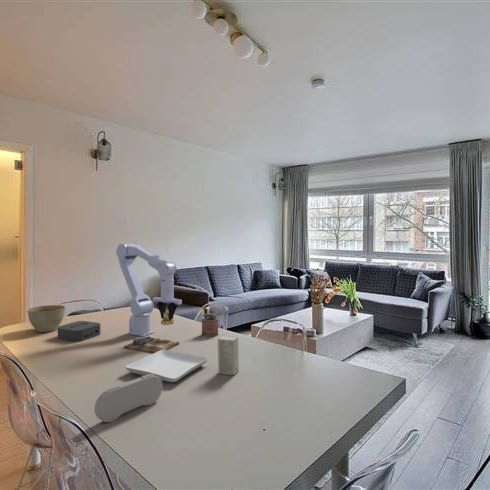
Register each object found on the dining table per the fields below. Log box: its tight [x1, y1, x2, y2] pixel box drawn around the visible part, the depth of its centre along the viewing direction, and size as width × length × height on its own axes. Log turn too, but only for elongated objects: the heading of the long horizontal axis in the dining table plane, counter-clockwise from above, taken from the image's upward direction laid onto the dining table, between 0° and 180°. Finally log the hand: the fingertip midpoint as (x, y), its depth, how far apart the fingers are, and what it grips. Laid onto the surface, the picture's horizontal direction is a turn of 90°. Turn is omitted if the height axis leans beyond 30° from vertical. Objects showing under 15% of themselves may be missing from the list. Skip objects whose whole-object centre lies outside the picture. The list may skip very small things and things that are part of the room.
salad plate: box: [124, 349, 209, 383], centre depth 125 cm, size 21×21×3 cm
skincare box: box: [217, 335, 240, 376], centre depth 123 cm, size 6×4×12 cm
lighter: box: [201, 313, 219, 337], centre depth 168 cm, size 8×3×10 cm, turn 84°
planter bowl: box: [27, 304, 66, 333], centre depth 174 cm, size 16×16×11 cm
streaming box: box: [57, 320, 102, 342], centre depth 165 cm, size 14×14×5 cm
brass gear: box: [160, 311, 175, 326], centre depth 162 cm, size 6×6×5 cm
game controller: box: [94, 374, 163, 423], centre depth 96 cm, size 20×2×8 cm, turn 140°
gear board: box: [123, 335, 180, 354], centre depth 151 cm, size 18×14×2 cm
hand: (167, 318), depth 162 cm, fingers closed on brass gear, 4 cm apart
